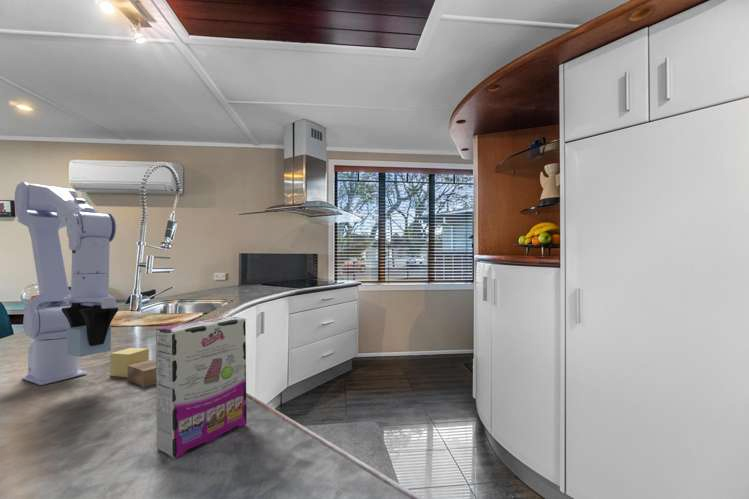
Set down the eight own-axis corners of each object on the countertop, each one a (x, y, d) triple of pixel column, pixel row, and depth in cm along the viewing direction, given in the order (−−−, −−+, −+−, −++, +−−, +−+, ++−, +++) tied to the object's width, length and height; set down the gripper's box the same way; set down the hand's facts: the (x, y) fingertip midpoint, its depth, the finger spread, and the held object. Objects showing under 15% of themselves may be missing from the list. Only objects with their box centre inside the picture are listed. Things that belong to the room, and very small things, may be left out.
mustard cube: (110, 376, 76) (110, 353, 77) (130, 369, 81) (130, 347, 81) (128, 377, 75) (129, 354, 75) (148, 370, 80) (148, 348, 80)
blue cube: (66, 354, 66) (67, 328, 66) (97, 348, 71) (97, 323, 71) (80, 356, 64) (80, 329, 64) (110, 350, 68) (110, 325, 69)
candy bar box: (227, 417, 56) (228, 315, 56) (247, 425, 53) (248, 317, 53) (152, 450, 46) (154, 326, 47) (172, 461, 44) (174, 330, 44)
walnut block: (127, 382, 73) (127, 365, 73) (162, 372, 79) (162, 357, 79) (143, 388, 69) (143, 370, 69) (178, 378, 75) (178, 362, 75)
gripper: (47, 273, 68) (45, 343, 67) (84, 275, 61) (83, 352, 61) (90, 272, 74) (88, 336, 73) (128, 273, 67) (127, 343, 67)
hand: (89, 343), depth 67 cm, fingers closed on blue cube, 5 cm apart
